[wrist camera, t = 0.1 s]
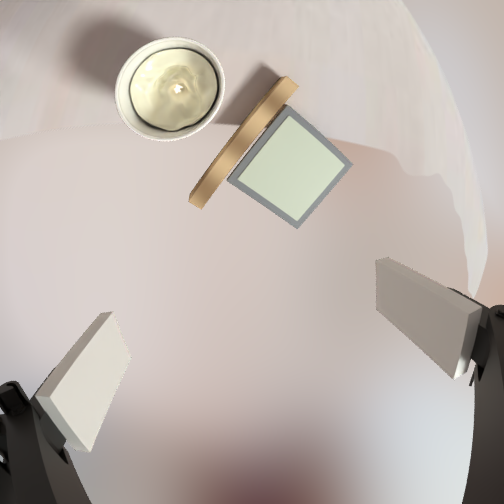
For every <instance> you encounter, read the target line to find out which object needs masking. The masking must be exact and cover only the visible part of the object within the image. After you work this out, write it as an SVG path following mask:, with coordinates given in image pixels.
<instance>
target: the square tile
mask: <svg viewBox="0 0 504 504" xmlns="http://www.w3.org/2000/svg"><path fill="white" fill-rule="evenodd" d="M352 165H353V164H352V163H351V162H350V161H349V160H348V159H347V158H346V157H345V156H344V155H343V154H342V153H341V152H340V151H339V150H338V149H337V148H336V147H335V146H334V145H333V144H332V143H331V142H330V141H328V140H327V139H326V138H325V137H324V136H323V135H322V134H321V133H320V132H319V131H318V130H316V129H315V128H314V127H313V126H312V125H311V124H310V123H308V122H307V121H306V120H305V119H304V118H303V117H302V116H300V115H299V114H298V113H297V112H296V111H294V110H293V109H292V108H291V107H289V106H288V105H286V106H285V107H284V108H283V109H282V111H281V112H280V113H279V114H278V115H277V117H276V118H275V119H274V120H273V121H272V123H271V124H270V125H269V126H268V127H267V129H266V130H265V131H264V132H263V134H262V135H261V136H260V137H259V139H258V140H257V141H256V142H255V144H254V145H253V146H252V147H251V149H250V150H249V151H248V152H247V154H246V155H245V156H244V157H243V159H242V160H241V161H240V163H239V164H238V165H237V167H236V168H235V169H234V170H233V172H232V173H231V174H230V176H229V177H228V178H227V181H228V182H229V183H231V184H232V185H234V186H235V187H237V188H238V189H240V190H241V191H243V192H245V193H246V194H247V195H249V196H250V197H252V198H253V199H255V200H256V201H258V202H259V203H261V204H262V205H263V206H265V207H266V208H268V209H269V210H271V211H272V212H274V213H275V214H276V215H278V216H279V217H281V218H282V219H283V220H285V221H287V222H288V223H289V224H291V225H292V226H293V227H295V228H296V229H298V228H299V227H300V226H301V225H302V223H303V222H304V221H305V220H306V219H307V218H308V216H309V215H310V214H311V213H312V212H313V211H314V209H315V208H316V207H317V206H318V205H319V204H320V203H321V202H322V200H323V199H324V198H325V197H326V195H328V193H329V192H330V191H331V190H332V189H333V188H334V186H335V185H336V184H337V183H338V182H339V180H340V179H341V178H342V177H343V176H344V175H345V173H346V172H347V171H348V170H349V169H350V168H351V166H352Z"/></svg>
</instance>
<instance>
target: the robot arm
mask: <svg viewBox="0 0 504 504" xmlns="http://www.w3.org/2000/svg"><path fill="white" fill-rule="evenodd" d="M376 309H377V311H379V312H380V313H381V314H382V315H383V316H384V317H386V318H387V319H388V320H389V321H390V322H391V323H392V324H393V325H395V326H396V327H397V328H398V329H399V330H400V331H401V332H402V333H404V334H405V335H406V336H407V337H408V338H409V339H410V340H411V341H412V342H413V343H414V344H415V345H417V346H418V347H419V348H420V349H421V350H422V351H423V352H424V353H425V354H426V355H428V356H429V357H430V358H431V359H432V360H433V361H434V362H435V363H436V364H437V365H438V366H439V367H440V368H442V370H443V371H445V372H446V373H447V374H448V375H449V376H450V377H451V378H452V379H453V380H454V379H455V378H457V377H459V376H461V375H462V374H464V373H465V372H467V370H468V366H469V363H470V360H471V359H472V360H474V361H475V362H476V365H475V368H474V372H473V375H472V378H471V381H470V384H469V386H472V383H473V381H474V383H475V409H474V411H475V412H474V430H473V442H472V451H471V459H470V466H469V473H468V478H467V484H466V489H465V493H464V497H463V502H462V504H504V305H495V306H493V307H491V308H490V309H489V308H488V307H486V306H484V305H482V304H480V303H479V302H477V301H475V300H473V299H471V298H469V297H468V296H466V295H463V294H462V293H461V292H459V291H457V290H455V289H451V288H448V287H445V286H443V285H441V284H439V283H438V282H436V281H434V280H432V279H430V278H428V277H426V276H424V275H422V274H420V273H418V272H417V271H414V270H413V269H411V268H409V267H407V266H405V265H403V264H401V263H399V262H397V261H395V260H393V259H391V258H389V257H387V258H383V259H379V260H376ZM131 358H132V357H131V355H130V353H129V350H128V348H127V345H126V343H125V341H124V338H123V336H122V333H121V331H120V328H119V325H118V323H117V320H116V317H115V315H114V312H106V313H101V314H100V315H99V316H98V317H97V318H96V319H95V321H94V322H93V323H92V324H91V325H90V326H89V328H88V329H87V330H86V331H85V332H84V333H83V335H82V336H81V337H80V338H79V340H78V341H77V342H76V343H75V344H74V345H73V347H72V348H71V349H70V351H69V352H68V353H67V354H66V355H65V357H64V358H63V359H62V360H61V362H60V363H59V364H58V365H57V367H55V368H54V369H53V370H52V372H51V373H50V374H49V375H48V378H46V379H45V381H44V383H42V385H41V386H40V387H39V388H38V390H37V391H36V392H35V394H34V395H33V397H32V398H31V399H30V400H29V399H28V397H27V396H26V394H25V392H24V391H23V389H22V388H21V386H20V384H19V383H18V382H17V381H10V382H6V383H4V384H3V385H1V386H0V408H1V409H2V411H3V412H4V413H5V414H1V415H0V455H1V456H2V457H3V458H4V459H3V463H2V462H1V461H0V504H92V503H91V502H90V500H89V498H88V496H87V494H86V492H85V490H84V488H83V485H82V484H81V482H80V479H79V477H78V475H77V472H76V470H75V468H74V465H73V463H72V460H71V458H70V456H69V453H68V451H67V450H66V449H65V447H64V444H65V442H66V440H67V441H68V443H69V444H70V445H71V446H72V447H73V448H74V450H77V451H83V452H91V449H92V447H93V444H94V442H95V439H96V437H97V434H98V432H99V430H100V427H101V425H102V422H103V420H104V418H105V415H106V413H107V411H108V408H109V406H110V404H111V402H112V399H113V397H114V395H115V392H116V390H117V388H118V386H119V384H120V382H121V379H122V377H123V375H124V373H125V371H126V369H127V367H128V364H129V362H130V360H131Z"/></svg>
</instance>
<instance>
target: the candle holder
mask: <svg viewBox="0 0 504 504" xmlns="http://www.w3.org/2000/svg"><path fill="white" fill-rule="evenodd" d="M224 92H225V77H224V72H223V69H222V66H221V64H220V62H219V60H218V59H217V57H216V56H215V55H214V53H213V52H212V51H211V50H210V49H208V48H207V47H206V46H204V45H203V44H201V43H199V42H197V41H195V40H192V39H188V38H183V37H166V38H161V39H157V40H154V41H152V42H149V43H147V44H145V45H144V46H142V47H140V48H139V49H138V50H136V51H135V52H134V53H133V54H132V55H131V56H130V57H129V58H128V59H127V60H126V62H125V63H124V65H123V66H122V68H121V70H120V72H119V74H118V77H117V80H116V84H115V92H114V96H115V104H116V108H117V111H118V113H119V115H120V117H121V119H122V120H123V122H124V123H125V124H126V125H127V126H128V127H129V128H130V129H131V130H132V131H133V132H135V133H136V134H138V135H140V136H142V137H144V138H147V139H150V140H155V141H174V140H178V139H182V138H185V137H188V136H190V135H192V134H194V133H196V132H198V131H199V130H200V129H202V128H203V127H204V126H205V125H207V124H208V123H209V122H210V121H211V119H212V118H213V117H214V116H215V114H216V113H217V111H218V109H219V107H220V105H221V103H222V100H223V97H224Z"/></svg>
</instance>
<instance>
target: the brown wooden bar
mask: <svg viewBox="0 0 504 504" xmlns="http://www.w3.org/2000/svg"><path fill="white" fill-rule="evenodd" d="M298 87H299V86H298V85H297V84H296V83H295V82H293V81H292V80H291V79H290V78H288V77H287V76H285V77H281V78H280V79H279V80H278V81H277V82H276V83H275V84H274V86H273V87H272V88H271V89H270V90H269V91H268V92H267V94H266V95H265V96H264V97H263V98H262V100H261V101H260V102H259V103H258V104H257V106H256V107H255V108H254V109H253V110H252V112H251V113H250V114H249V115H248V117H247V118H246V119H245V120H244V122H243V123H242V124H241V125H240V127H239V128H238V129H237V130H236V132H235V133H234V134H233V136H232V137H231V138H230V139H229V141H228V142H227V144H226V145H225V146H224V147H223V149H222V150H221V151H220V153H219V154H218V155H217V157H216V158H215V159H214V161H213V162H212V163H211V165H210V166H209V168H208V169H207V170H206V172H205V173H204V175H203V176H202V177H201V179H200V180H199V181H198V183H197V184H196V186H195V187H194V189H193V190H192V192H191V193H190V196H189V202H190V203H192V204H193V205H195V206H196V207H198V208H200V209H202V208H203V207H204V205H205V204H206V202H207V201H208V200H209V198H210V197H211V195H212V194H213V193H214V192H215V190H216V189H217V187H218V186H219V185H220V183H221V182H222V181H223V179H224V178H225V177H226V175H227V174H228V173H229V172H230V170H231V169H232V168H233V166H234V165H235V164H236V162H237V161H238V159H239V158H240V157H241V156H242V154H243V153H244V152H245V151H246V150H247V148H248V147H249V145H250V144H251V143H252V142H253V141H254V139H255V138H256V137H257V136H258V134H259V133H260V132H261V130H263V128H264V127H265V126H266V125H267V123H268V122H269V121H270V120H271V119H272V117H273V116H274V115H275V114H276V113H277V111H278V110H279V109H280V108H281V107H282V105H283V104H284V103H285V102H286V101H287V100H288V98H289V97H290V96H291V95H292V94H293V93H294V92H295V90H296V89H297V88H298Z"/></svg>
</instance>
